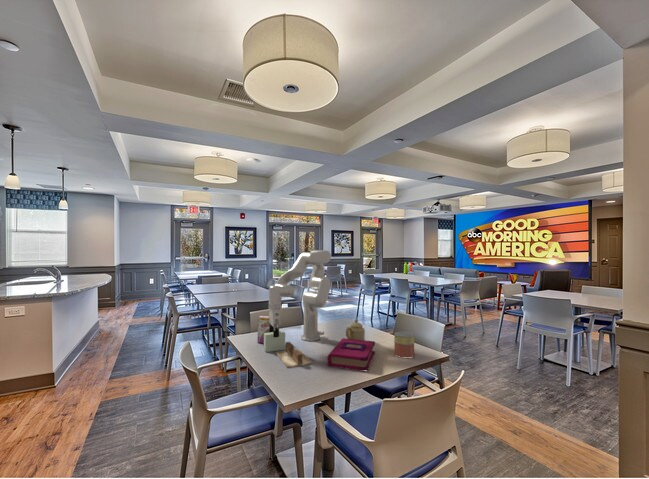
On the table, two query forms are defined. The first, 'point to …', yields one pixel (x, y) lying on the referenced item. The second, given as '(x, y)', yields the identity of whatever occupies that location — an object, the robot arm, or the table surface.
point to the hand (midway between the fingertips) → (273, 334)
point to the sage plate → (274, 341)
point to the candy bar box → (263, 327)
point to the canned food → (404, 344)
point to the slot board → (293, 357)
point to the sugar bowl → (355, 331)
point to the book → (352, 354)
